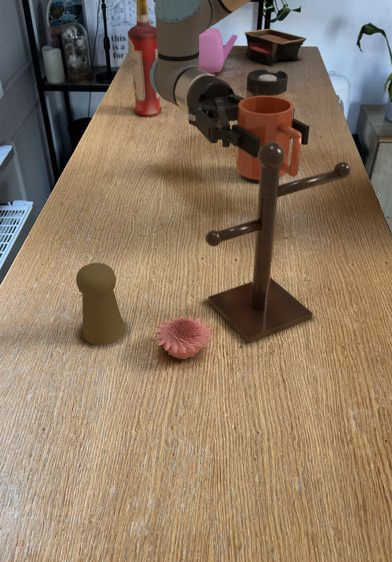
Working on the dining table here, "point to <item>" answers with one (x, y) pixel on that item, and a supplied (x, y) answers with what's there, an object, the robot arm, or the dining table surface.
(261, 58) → the dark brown boxy piece
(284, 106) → the mug
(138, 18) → the liquor
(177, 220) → the dining table surface
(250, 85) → the travel mug
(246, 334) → the mug tree
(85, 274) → the olive brown pawn
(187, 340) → the flower
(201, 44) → the teapot
